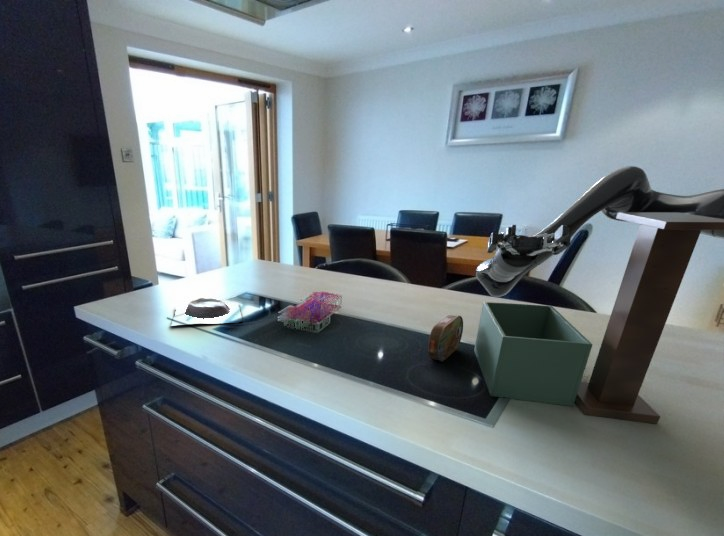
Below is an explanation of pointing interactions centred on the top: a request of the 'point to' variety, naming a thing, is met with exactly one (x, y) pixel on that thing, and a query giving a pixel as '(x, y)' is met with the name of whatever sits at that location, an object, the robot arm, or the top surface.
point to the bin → (530, 353)
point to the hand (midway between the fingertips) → (539, 229)
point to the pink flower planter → (311, 310)
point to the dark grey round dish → (207, 308)
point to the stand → (641, 313)
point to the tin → (445, 337)
